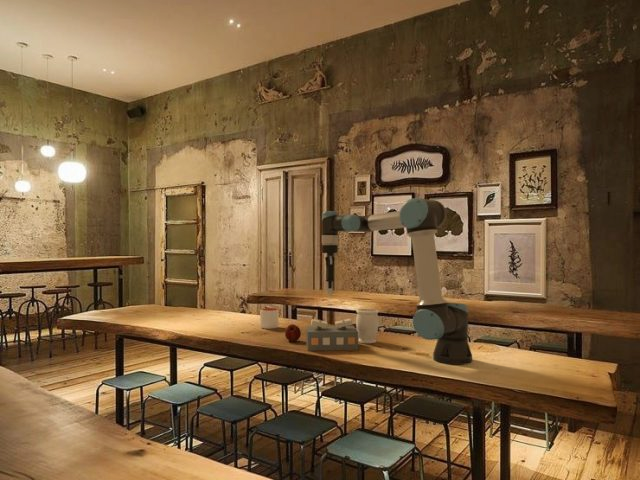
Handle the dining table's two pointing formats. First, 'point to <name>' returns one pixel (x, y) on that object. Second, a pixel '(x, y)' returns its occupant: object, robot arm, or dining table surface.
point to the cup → (269, 318)
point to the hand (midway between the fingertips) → (329, 295)
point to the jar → (367, 325)
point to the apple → (292, 333)
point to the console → (331, 338)
